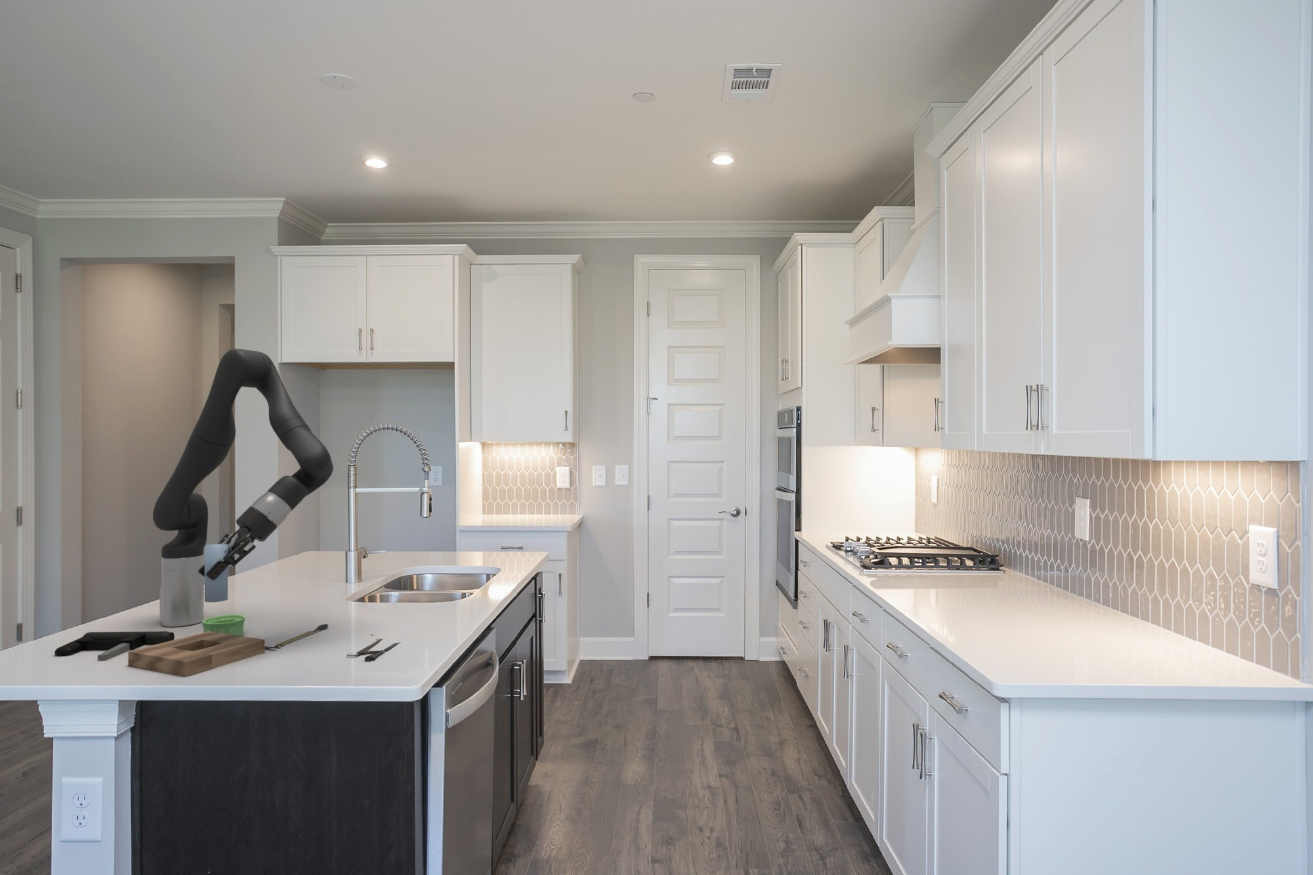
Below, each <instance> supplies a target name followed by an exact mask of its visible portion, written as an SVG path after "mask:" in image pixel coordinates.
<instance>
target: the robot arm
mask: <svg viewBox="0 0 1313 875" xmlns="http://www.w3.org/2000/svg"><path fill="white" fill-rule="evenodd" d="M282 380H283V379H282V378H281V376H280V374H279V372H278V370H277V367H276V366H275V364H274V362H273V360H272V358H270V356H268V354H266V353H264V352H262V351H257V350H251V349H243V348H232V349H229V350H227V351H226V352H224V354H223V355H222V357H221V358H220V361H219V363H218V365H217V368H216V371H215V373H214V378H213V381H212V385H211V387H210V390H209V393H208V396H207V398H206V401H205V403H204V406H203V408H202V410H201V412H200V416H199V417H198V420H197V421H196V423H195V425H194V428H193V429H192V432H191V434H190V436H189V438H188V441H187V444H186V446H185V448H184V450H183V452H182V455H181V457H180V459H179V460H178V463H177V465H176V467H175V469H174V470H173V472H172V474H171V476H170V478H169V479H168V481H167V483H166V484H165V486H164V488H163V489H162V491H161V493H160V494H159V496H158V497H157V500H156V502H155V504H154V507H153V510H152V521H153V524H154V525H155V527H156V528H158V529H159V530H161V531H163V532H164V531H166V532H172V531H173V532H174V531H177V534H176V536H175V537H174V538H173V539H172V540H171V541H169V542H167V543H165V544H164V545H163V546H162V547H161V552H160V553H161V556H160V557H161V562H160V563H161V566H160V567H161V585H160V586H159V624H161V626H163V627H169V628H170V627H173V628H174V627H184V626H190V625H192V626H193V625H196V624H199V623H202V621H203V620H205V618H204V614H205V613H204V612H205V610H204V609H205V546H206V545H207V540H208V525H209V524H208V523H209V508H208V503H207V501H206V499H205V497H204V496H203V495H202V494H200V493H198V492H194V491H195V489H196V488H197V487H198V486H199V485H200V484H201V483H202V481H203V480H205V479H206V478H207V477H208V476H209V475H210V474H212V473H213V472H214V471H215V470H216V469H217V468H219V466H221V464H222V463H223V462H224V461H225V459H226V458H227V456H228V454H229V452H230V450H231V448H232V446H233V444H234V441H235V439H236V436H237V435H236V434H237V431H236V429H237V428H236V423H235V417H234V413H233V412H234V411H233V407H234V403H235V400H236V399H237V395H238V393H239V391H240V390H241V388H251V389H254V388H255V389H256V390H257V391H258V392H259V393H260V394H261V395H262V396H263V397H264V399H265V400H266V402H267V405H268V420H269V424H270V426H271V428H272V431H274V433H275V435H276V436H277V438H278V439H279V441H280V442H281V443H282V445H283V446H284V447H285V449H287V450H288V451H290V453H291V454H292V456H294V458H295V460H296V462H297V464H298V466H299V469H298V470H297V471H295V472H294V473H293V474H292V475H283V476H282V477H280V478H279V479H278V480H277V481H275V483H274V484H273V485H272V486H271V487H270V488H268V490H267V491H266V492H264V493H263V494H262V495H261V496H259V497H258V498H257V499H256V500H255V501H254V502H253V503H252V504H251V505H250V506H249V507H248V508H246V510H245V511H243V513H242V514H240V516H238V518H237V519H236V521H235V522H236V526H238V527H239V528H238V529H236V531H234V532H232V533H230V534H229V533H225V534H224V535H223V536H222V538H221V539H220V540H219V541H218V543H217V544H228V546H227V547H226V549H225V553H224V554H223V556H222V557H221V558H220V560H219V561H217V562H216V563H215V564H214V565H213V566H212V567H211V568H210V569H209V570H208V571H207V572H206V576H207V577H208V578H210V579H211V580H215V579H216V578H217V577H218V576H219V575H220V574H221V573H222V572H223V571H224V570H225V569H226V568H227V567H228V568H230V567H235V566H236V565H238V563H240V562H241V561H242V560H244V559H245V557H247V555H249V554H250V553H251V552H253V551H254V550H255V549H256V548H257V546H256V545H255V544H254V542H255V540H256V541H258V542H261V543H262V542H263V543H264V542H265V541H266V540H267V539H268V538H269V537H270V536H271V535H272V534H273V533H274V531H276V530H277V529H278V527H280V526H281V524H282V523H283V522H284V521H286V519H287V517H288V516H290V514H291V512H293V510H294V509H295V508H297V506H298V505H299V504H301V502H302V501H303V500H304V499H305V498H306V497H307V496H309V495H311V494H312V493H314V492H315V491H317V489H319V488H320V487H321V486H323V485H324V484H325V483H326V482H327V481H328V480H329V479H330V478H331V476H332V475H333V472H334V464H333V460H332V457H331V454H330V453H329V450H328V449H327V447H326V446H325V445H324V443H322V441H321V440H320V439H319V438H318V437H317V436H316V435H315V434H314V433H313V431H312V430H311V428H310V427H309V425H308V424H307V422H306V421H305V420H304V418H303V416H302V415H301V414H300V412H299V411H298V409H297V408H296V407H295V405H294V403H293V400H292V399H291V397H290V394H289V393H288V390H287V389H286V386H285V384H284V383H283V381H282Z"/></svg>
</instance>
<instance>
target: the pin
mask: <svg viewBox="0 0 1313 875" xmlns="http://www.w3.org/2000/svg"><path fill="white" fill-rule="evenodd" d="M227 546H228V544H218V543H213V544H206V545H205V547H204V564H205V577H204V603H220V602H225V601H228V600H229V567H227V568H226V569H225V570H224V571H223V572H222V573H221V574H220V575H219V576H218V577H217V578H216V579H215V580H211V579H210V578H208V577H207V576H206V572H207V571H208V570H209V569H210V568H211V567H212V566H213V565H214V564H215V563H216V562H217V561H219V560H220V558H221V557H222V556H223V554H224V553H225V549H226V547H227Z"/></svg>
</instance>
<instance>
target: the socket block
mask: <svg viewBox="0 0 1313 875" xmlns="http://www.w3.org/2000/svg"><path fill="white" fill-rule="evenodd" d="M265 640H266V639H264V638H258V637H251V636H244V635H242V636H238V635H232V634H225V633H218V632H211V631H208V632H204V631H203V632H200V633H197V634H193V635H188V636H185V637H181V638H177V639H174V640H172V641H168V642H164V643H160V644H151V645H148V646H145V647H144V646H143V647H139V648H137V649H135V650H130V651H127V655H128V658H127V666H128V667H132V668H137V669H143V670H148V671H149V670H150V671H153V672H159V673H165V674H169V675H175V676H180V677H190V676H192V675H196V674H200V673H203V672H207V671H209V670H213V669H215V668H218V667H222V666H225V665H228V664H232V663H235V662H240V661H243V660H247V659H248V658H249V659H250V658H252V657H255V656H259V655H262V654H265V651H266V650H265V645H266V644H265V642H266V641H265Z"/></svg>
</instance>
